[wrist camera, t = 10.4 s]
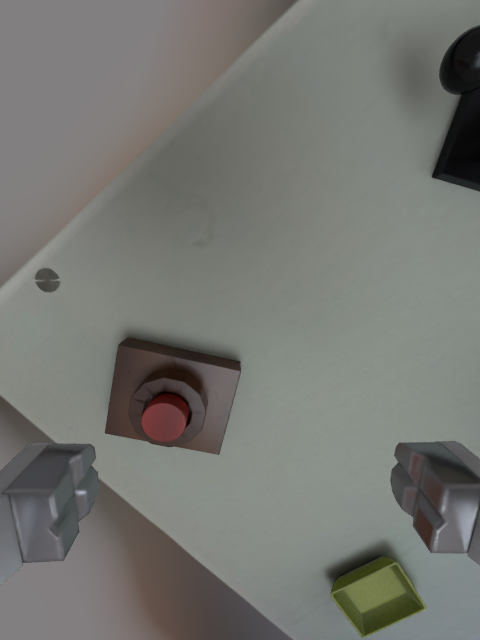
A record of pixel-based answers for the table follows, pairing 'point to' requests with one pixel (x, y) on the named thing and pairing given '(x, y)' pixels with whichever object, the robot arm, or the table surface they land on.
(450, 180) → the bracket
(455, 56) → the lever
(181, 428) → the button
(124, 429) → the button block
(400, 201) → the table surface
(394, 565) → the green square tray
